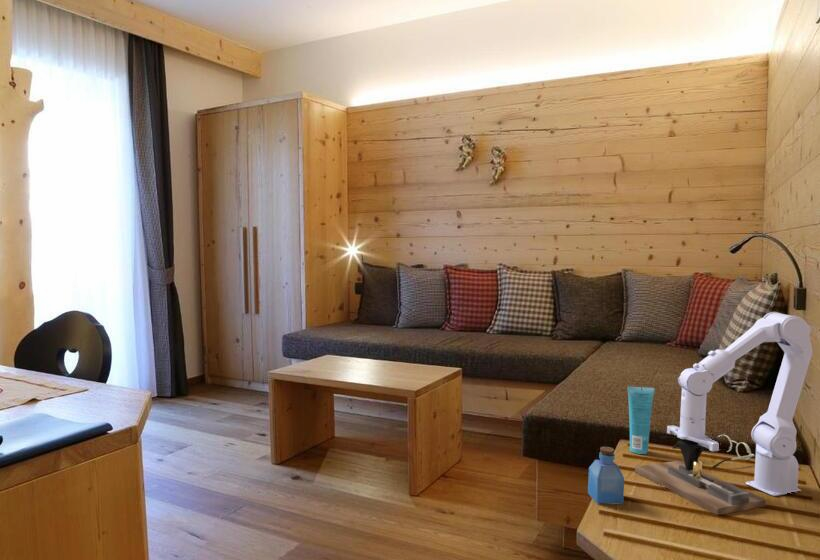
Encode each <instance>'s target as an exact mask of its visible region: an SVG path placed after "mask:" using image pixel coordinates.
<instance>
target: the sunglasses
mask: <svg viewBox="0 0 820 560" xmlns="http://www.w3.org/2000/svg"><path fill="white" fill-rule="evenodd" d="M720 436H721V437H723V436H724V437H726V438H727V439H728V441H729V444H730V445H729V447H728V450H727V451H726V452H727V453H729V452H731V451H732V449H733V443H735V444H736V446H735V452H736V454H737V457H731V458H727V459H723V460H721V461H720V462H718V463H716V464H715V465H713V466H711V467H710V468H711V469H715V468H717V467H718V466H719V465H721V464H723V463H724V462H727V461H729V462H730V461H735V460H742V459H743V460H745V461H750V458H752V457H754V458H755V457H756V454H754V453H752V451H751V448H750V446H749V445H748V444H747V443H745V442H742V441H741V442H737V441H735V440H731V438H730V437H729V436H728V435H726V434H719V435H718V436H717V437H720ZM679 441H681V439H680V440H679ZM740 444H743V445H744V447H745V449H746V452H747V453H748V455H743V456H742V455H740V454H739V451H738V450H739V449H738V447H739V445H740ZM677 447H678V444H677V442H676V443H675V444H674V445H673V447H672V449H677Z"/></svg>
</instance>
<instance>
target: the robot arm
mask: <svg viewBox="0 0 820 560" xmlns="http://www.w3.org/2000/svg"><path fill="white" fill-rule="evenodd" d="M811 332H812V328H811V327H810V325H809V324H808V323H807V322H806V321H805V319H803V317H800V316H798V315H790V314H785V313H781V312H779V311H778V312H777V311H769V312H768V313H766V314H765V315H764V316H763V317H761V318H759V319H757V320H756V321H755V323H754V324H753V326H751V327H750V328H749V329H748V330H746V331H745V332H744V333H743V334H742V335H741V336H739V337H738V338H737V339H736V340H735V341H733V342H732V343H731V344H729V345H728V346H727V347H726V348H725V349H715V350H710V351H708V352H707V356H706V357H704V358H703V359H702V360H700V361H699V362H698V363H694V364H693V365H692V367H690V368H685V369H683V371H682V372H681V373H680V375H679V377H677V382H678V385H679V387H681V396H680V397H681V398H680V412H679V413H680V414H679V415H680V416H679V417H680V418H679V426H677V425H674V424H673V425H667V427H666V434H669V435H674V436H676V438H678V439H680V440H681V441H680V440H677V442H676V443H677V444H678V445H677V447H679V450H680V451H681V454H682V458H683V462H684V463H685V467H686V470H688V471H690V470H693V460H699V458H700V456H701V454H702V453H703V452H704V450H705V449H708V450H709V451H711V452H718V451H720V449H719V443H718V441H715V440H712V439H711V438H710V437H709V436H708V435H706V420H707V419H706V416H707V413H706V412H707V394H709V392H711V390H712V388H713V384H714V383H715V382H716V381H718V380H719V379H720V378H722V377H724V376H725V375H726V374H728V373H729V372H730V371H731V370H732V369H734V368H735V364H736V361H737V360H738V359H740V358H741V357H743V356H744V355H745V354H747V353H749V352H750V351H751V350H753V349H755V348H757V347H759V345H761V344H763V343H775V342H776V343H777V344H778V346H779V347H780V348H781V350H782V351H783V353H784V354H783V358H782V361H781V365H780V367H779V371H778V374H777V378H776V382H775V385H774V388H773V390H772V395H771V398H770V402H769V405H768V408H767V411H766V412H765V413H764V414H762V415H760V416H759V419H758V421H757V423H756V424H755V425H754V426H753V427H752V429H751V432H750V433H751V436H750V437H751V439H752V441H753V442H754V443H755V456H754V458H755V463H754V476H753V479H754V480H750V481H746V482H745V485H748V486H750V487H751V488H754V489H756V490H758V491H762V492H763V493H766V494H768V495H770V496H771V497H778V496H782V495H788V494H787V493H790V494H792V493H791V492H795V493H797V492H796V491H800V492H801V491H802V489H800V488H799V485H798V484H799V466H800V465H799V462H798V460H797V458H796V456H794V454H795V452H796V451H797V441H796V439H797V437H796V436H797V434H798V431H797V428H796V426H795V424H794V420H793V419H794V416H795V412H796V408H797V405H798V402H799V399H800V397H801V396H800V395H801V392H802V389H803V386H804V382H805V378H806V375H807V372H808V369H809V366H810V362H811V358H812V357H813V352H814V351H813V346H812V340H811V337H810V335H811Z"/></svg>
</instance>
